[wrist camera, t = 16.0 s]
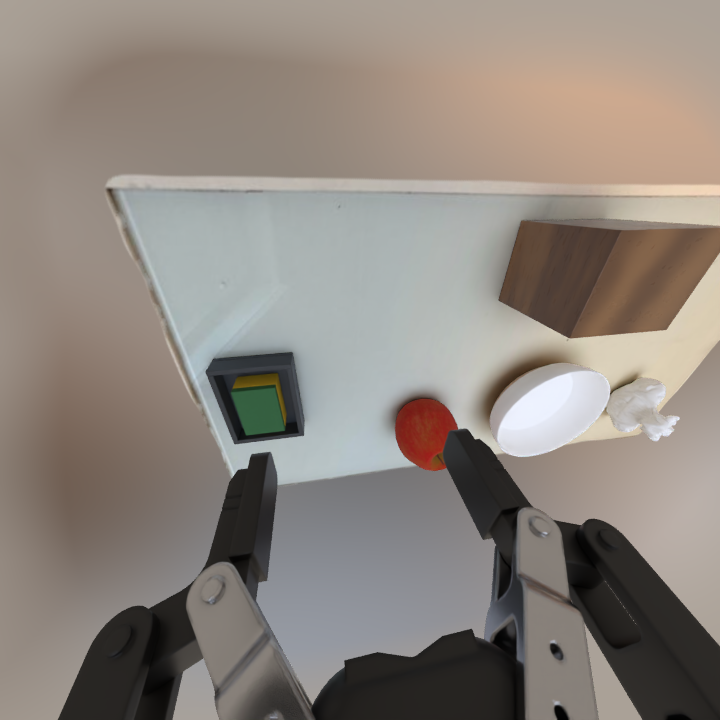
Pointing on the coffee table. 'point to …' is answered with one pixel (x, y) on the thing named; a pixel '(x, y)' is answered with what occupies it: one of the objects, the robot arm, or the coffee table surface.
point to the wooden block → (606, 273)
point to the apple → (424, 432)
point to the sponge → (260, 403)
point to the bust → (640, 408)
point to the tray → (228, 369)
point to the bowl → (548, 408)
